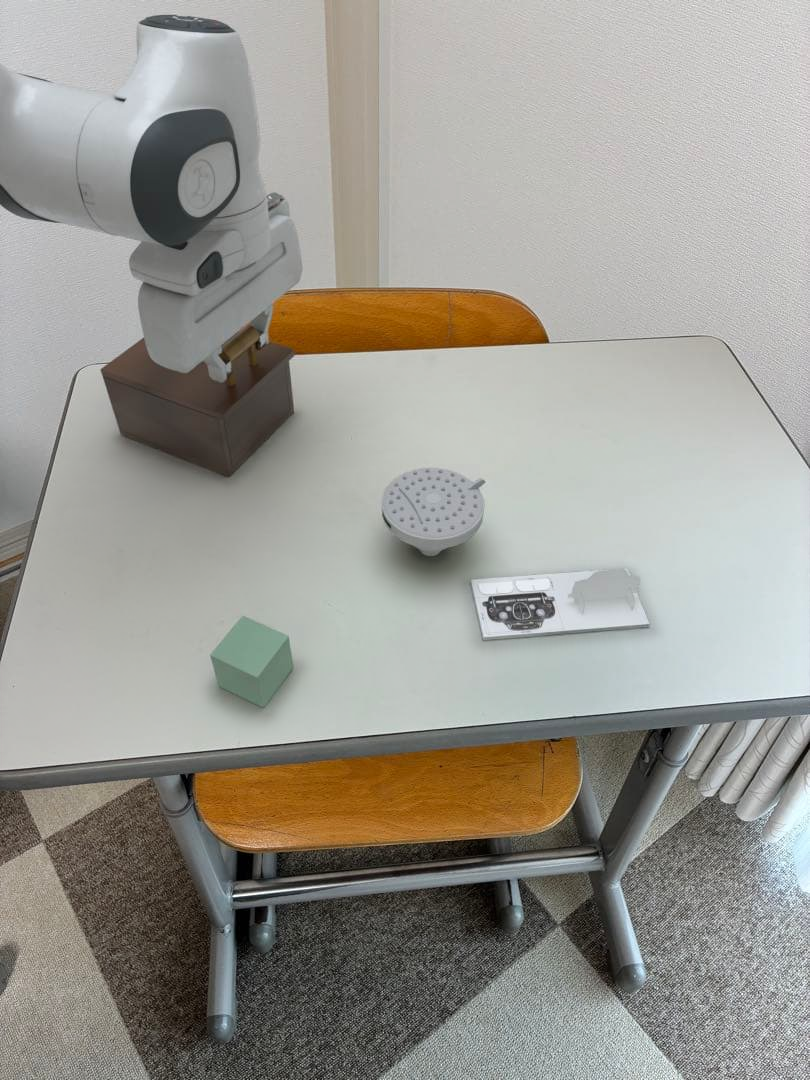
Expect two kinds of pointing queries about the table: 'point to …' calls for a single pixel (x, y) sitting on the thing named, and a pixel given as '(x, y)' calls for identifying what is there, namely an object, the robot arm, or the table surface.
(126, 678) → the table surface
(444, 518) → the showerhead
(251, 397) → the chest
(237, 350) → the lid
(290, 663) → the soap block
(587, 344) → the table surface
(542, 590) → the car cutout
